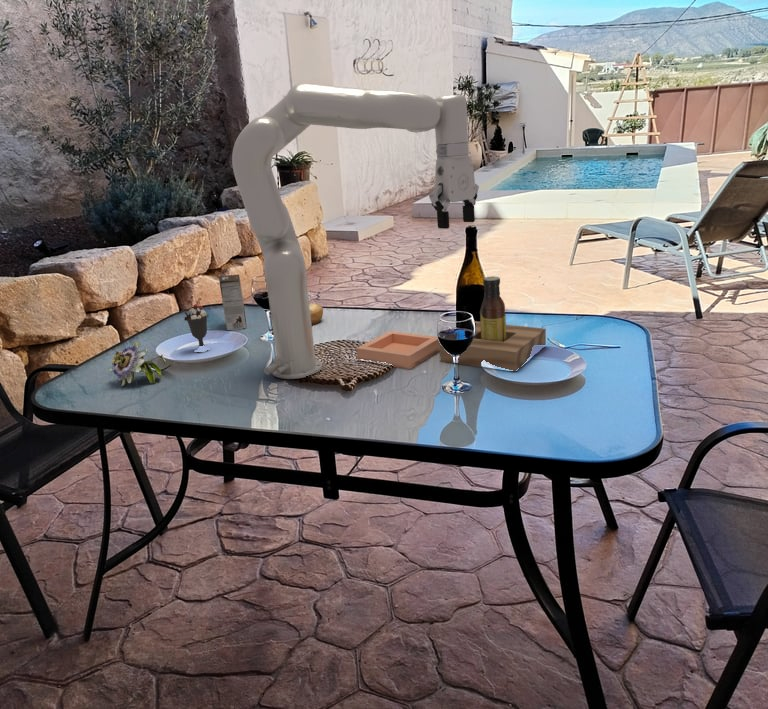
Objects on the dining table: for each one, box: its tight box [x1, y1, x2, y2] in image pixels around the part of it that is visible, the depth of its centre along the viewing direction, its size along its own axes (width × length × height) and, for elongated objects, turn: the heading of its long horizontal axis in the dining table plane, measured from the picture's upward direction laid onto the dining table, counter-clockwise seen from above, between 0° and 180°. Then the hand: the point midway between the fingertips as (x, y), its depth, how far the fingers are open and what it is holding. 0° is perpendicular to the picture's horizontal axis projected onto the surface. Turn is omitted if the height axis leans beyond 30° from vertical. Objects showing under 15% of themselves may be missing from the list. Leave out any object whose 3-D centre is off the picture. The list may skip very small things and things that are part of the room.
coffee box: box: [218, 274, 248, 331], centre depth 198 cm, size 9×6×16 cm
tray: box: [355, 330, 440, 370], centre depth 162 cm, size 16×16×4 cm
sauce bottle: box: [479, 275, 507, 342], centre depth 155 cm, size 6×6×20 cm
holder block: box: [439, 320, 547, 371], centre depth 158 cm, size 20×20×5 cm
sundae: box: [184, 297, 209, 347], centre depth 177 cm, size 7×7×15 cm
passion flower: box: [108, 341, 167, 387], centre depth 157 cm, size 11×11×12 cm
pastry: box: [308, 294, 324, 326], centre depth 199 cm, size 12×12×9 cm
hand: (456, 225), depth 152 cm, fingers open, 9 cm apart
